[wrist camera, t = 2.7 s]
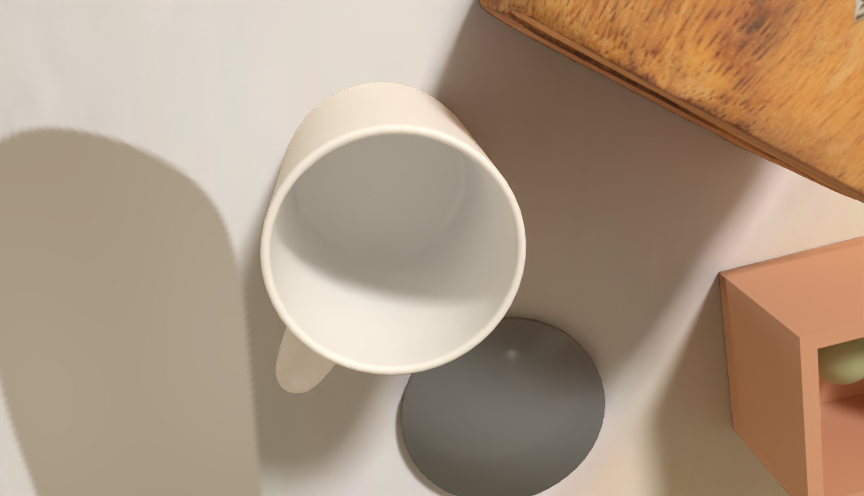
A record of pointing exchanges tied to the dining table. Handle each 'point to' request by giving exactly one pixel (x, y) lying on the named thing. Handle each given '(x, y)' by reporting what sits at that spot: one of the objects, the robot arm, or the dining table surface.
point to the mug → (386, 238)
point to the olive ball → (842, 362)
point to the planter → (797, 366)
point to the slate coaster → (505, 413)
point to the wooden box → (728, 69)
